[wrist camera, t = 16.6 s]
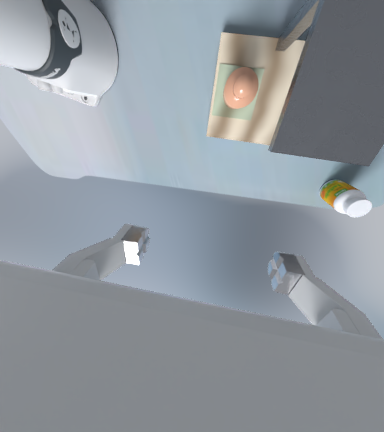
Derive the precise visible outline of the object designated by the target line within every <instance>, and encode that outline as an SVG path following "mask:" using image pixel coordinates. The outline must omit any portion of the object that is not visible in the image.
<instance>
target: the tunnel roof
mask: <svg viewBox="0 0 384 432" xmlns="http://www.w3.org/2000/svg"><path fill="white" fill-rule="evenodd" d="M310 25H311V26H310ZM309 26H310V29H309V32H308V35H307V38H306V41H305V44H304V47H303V50H302V53H301V55H300V58H299V61H298V64H297V67H296V70H295V73H294V76H293V79H292V82H291V85H290V88H289V91H288V94H287V96H286V99H285V102H284V105H283V108H282V111H281V114H280V117H279V120H278V123H277V126H276V129H275V132H274V135H273V138H272V140H271V143H270V146H269V149H268V150H269V151H271V152H275V153H282V154H289V155H296V156H303V157H309V158H316V159H323V160H330V161H337V162H344V163H350V164H357V165H364V166H369V165H370V164H371V162H372V161H373V159H374V158H375V156H376V155H377V153H378V152H379V150H380V149H381V147H382V146H383V145H384V0H307V1H306V3H305V4H304V5H303V7H302V8H301V9H300V11H299V12H298V13H297V15H296V16H295V17H294V19H293V20H292V21H291V23H290V24H289V25H288V27H287V28H286V29H285V30H284V32H283V33H282V34H281V36H280V37H279V39H278V43H277V46H276V50H275V51H285V50H286V49H287V48H288V47H289V46H290V45H291V44H292V43H293V42H294V41H295V40H296V39H297V38H298V37H299V36H300V35H301V34H302V33H303V32H304V31H305V30H306V29H307V28H308V27H309Z"/></svg>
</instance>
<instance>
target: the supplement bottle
mask: <svg viewBox="0 0 384 432" xmlns="http://www.w3.org/2000/svg"><path fill="white" fill-rule="evenodd" d="M319 194H320V197H321V198H322V199H323V200H324V201H326V202H327V203H328V204H329V205H331V206H332V207H333V208H334V209H335V210H337V211H338V212H340V213H346V214H348V215H349V216H351V217H360V216H363V215H365V214H367V213H368V212H369V211H370V210H371V208H372V203H371V202H370V201H369V200H367V199H366V196H365V194H364V193H363V192H361V191H360V190H358V189H356V188H354V187H352V186H351V185H349V184H347V183H345V182H343V181H341V180H331V181H328V182H326V183H325V184H324V185H323V186H322V187H321V189H320V191H319Z"/></svg>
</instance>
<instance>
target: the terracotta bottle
mask: <svg viewBox="0 0 384 432" xmlns="http://www.w3.org/2000/svg"><path fill="white" fill-rule="evenodd" d="M258 86H259V83H258V77H257V75H256V73H255V72H254V71H253V70H252V69H251V68H248V67H240V68H238V69H236V70H235V71H233V72H232V73H231V74H230V76H229V77H228V79H227V82H226V84H225V87H224V91H223V100H224V103H225V105H226V106H227V107H228V108H230V109H239V108H243V107H245V106H247V105H249V104H250V103H251V102H252V101H253V100H254V98H255V96H256V94H257V91H258Z"/></svg>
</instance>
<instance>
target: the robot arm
mask: <svg viewBox="0 0 384 432" xmlns="http://www.w3.org/2000/svg"><path fill="white" fill-rule="evenodd" d="M0 65H1V66H7V67H11V68H14V69H15V70H16V71H18V72H20V73H23V74H25V75H26V76H27V78H28V79H29V80H30V82H31V83H32V84H33V85H35V86H38V88H39V89H41V90H44V91H48V92H54V93H57V94H60V95H62V96H65V97H68V98H70V99H73V100H76V101H78V102H81V103H84V104H86V105H89V106H93V107H96V106H97V105H98V103H99V101H100V98H101V96H102V94H103V93H105V92H106V91H107V90H108V89H109V88H110V87H111V85H112V84H113V82H114V80H115V77H116V74H117V68H118V53H117V47H116V42H115V39H114V36H113V33H112V30H111V28H110V26H109V24H108V22H107V20H106V19H105V17H104V16H103V14H102V13H101V12H100V11H99V9H98V8H97V7H96V6H95V5H94V4H93V3H92V2H91V1H90V0H0ZM86 97H87V100H86ZM148 234H149V228H146V227H141V226H136V225H131V224H124V226H123V227H122V228H121V229H120V230H119V231H118V232H117V233H116V235H115V236H114V237H113V238H109V239H106V240H104V241H101V242H99V243H96V244H94V245H92V246H89V247H87V248H84V249H82V250H79V251H77V252H75V253H72V254H69V255H68V256H67V257H66V258H65V259H64V260H63V261H62V262H61V263H60V264H58V265H57V266H56V267H55V268H54V269H53V270H47V269H42V268H37V267H32V266H27V265H23V264H18V263H13V262H8V261H3V260H0V432H384V340H383V339H382V337H381V336H380V335H379V333H378V332H377V330H376V329H375V328H374V326H373V325H372V323H371V322H370V321H369V319H368V318H367V317H366V315H365V314H364V313H363V312H361V311H360V310H359V309H358V308H356V307H355V306H354V305H352V304H351V303H350V302H349V301H347V300H346V299H344V298H343V297H342V296H341V295H340V294H338V293H337V292H336V291H335V290H333V289H332V288H331V287H329V286H328V285H327V284H326V283H324V282H323V281H322V280H320V279H319V278H316V277H315V275H314V274H313V272H312V270H311V269H310V267H309V265H308V264H307V262H306V260H305V259H304V257H303V256H300V255H295V254H288V253H282V252H275V253H274V255H273V258H274V259H273V260H271V261H270V262H269V264H268V274H269V276H270V277H271V278H272V281H271V284H272V287H273V290H274V292H278V293H282V294H287V295H288V296H289V297H290V298H291V299H292V301H293V302H294V303H295V304H296V305H297V307H298V308H299V309H300V310H301V312H302V313H303V314H304V315H305V316H306V318H307V319H308V320H309V321H310V322H311V324H312V325H311V324H306V323H301V322H296V321H291V320H287V319H282V318H277V317H272V316H268V315H263V314H258V313H253V312H249V311H244V310H239V309H234V308H229V307H225V306H220V305H215V304H210V303H205V302H201V301H196V300H191V299H186V298H181V297H176V296H172V295H167V294H162V293H157V292H153V291H148V290H143V289H138V288H133V287H128V286H124V285H119V284H114V283H109V282H105V281H101V280H102V279H104V278H105V277H107V276H108V275H110V274H111V273H113V272H114V271H116V270H117V269H118V268H120V267H121V266H123V265H124V264H126V263H131V264H138V265H139V264H140V262H141V260H142V259H143V254H144V253H145V252H146V251H147V249H148V246H149V241H150V240H149V237H148Z"/></svg>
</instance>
